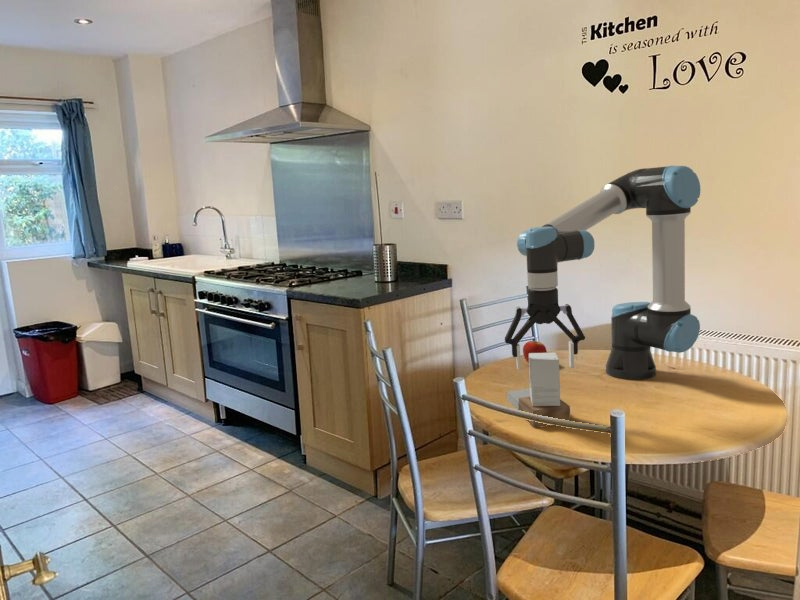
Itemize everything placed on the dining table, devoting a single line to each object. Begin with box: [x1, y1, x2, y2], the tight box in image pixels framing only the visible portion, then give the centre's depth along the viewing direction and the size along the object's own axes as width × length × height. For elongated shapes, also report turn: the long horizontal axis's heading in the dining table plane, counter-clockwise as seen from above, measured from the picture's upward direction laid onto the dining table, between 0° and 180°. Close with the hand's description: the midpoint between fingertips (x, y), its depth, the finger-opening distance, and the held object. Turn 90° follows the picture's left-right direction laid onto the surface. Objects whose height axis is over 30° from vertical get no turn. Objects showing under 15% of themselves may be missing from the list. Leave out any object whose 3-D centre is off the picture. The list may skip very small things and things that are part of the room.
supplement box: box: [528, 352, 561, 406], centre depth 150 cm, size 7×7×13 cm
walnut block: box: [518, 397, 571, 429], centre depth 152 cm, size 10×10×5 cm
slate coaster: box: [506, 388, 530, 411], centre depth 164 cm, size 9×9×3 cm
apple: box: [522, 338, 548, 364], centre depth 200 cm, size 8×8×10 cm
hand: (545, 367), depth 150 cm, fingers open, 13 cm apart
